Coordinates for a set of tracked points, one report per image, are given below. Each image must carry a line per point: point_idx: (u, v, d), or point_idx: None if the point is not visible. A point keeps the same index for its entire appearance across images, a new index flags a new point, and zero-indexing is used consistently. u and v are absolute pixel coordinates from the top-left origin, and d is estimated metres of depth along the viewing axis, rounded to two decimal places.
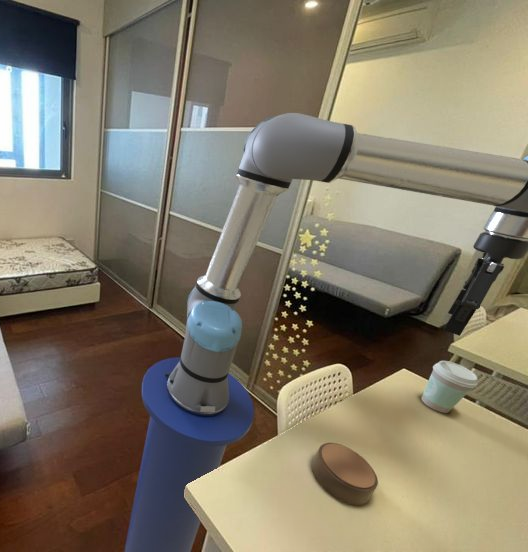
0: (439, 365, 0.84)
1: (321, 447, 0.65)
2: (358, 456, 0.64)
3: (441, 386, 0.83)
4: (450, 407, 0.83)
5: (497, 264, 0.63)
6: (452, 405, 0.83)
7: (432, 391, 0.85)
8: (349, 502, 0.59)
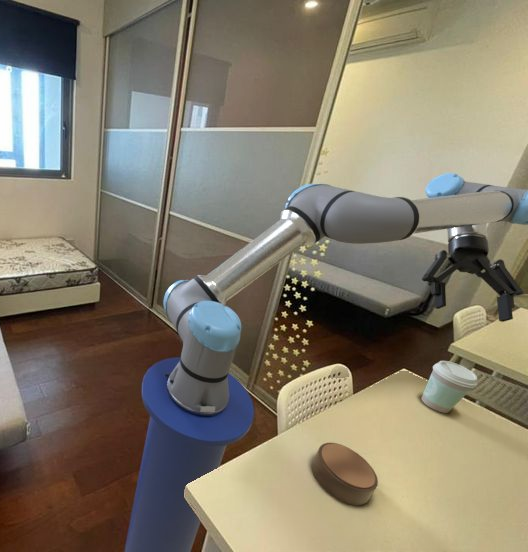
0: (439, 365, 0.84)
1: (321, 447, 0.65)
2: (358, 456, 0.64)
3: (441, 386, 0.83)
4: (450, 407, 0.83)
5: None
6: (452, 405, 0.83)
7: (432, 391, 0.85)
8: (349, 502, 0.59)
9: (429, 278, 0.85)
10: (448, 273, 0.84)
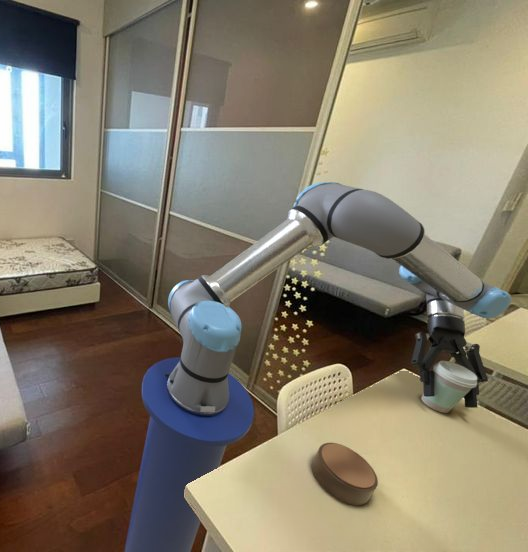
0: (439, 365, 0.84)
1: (321, 447, 0.65)
2: (358, 456, 0.64)
3: (441, 386, 0.83)
4: (450, 407, 0.83)
5: None
6: (452, 405, 0.83)
7: None
8: (349, 502, 0.59)
9: (419, 365, 0.86)
10: (433, 358, 0.86)
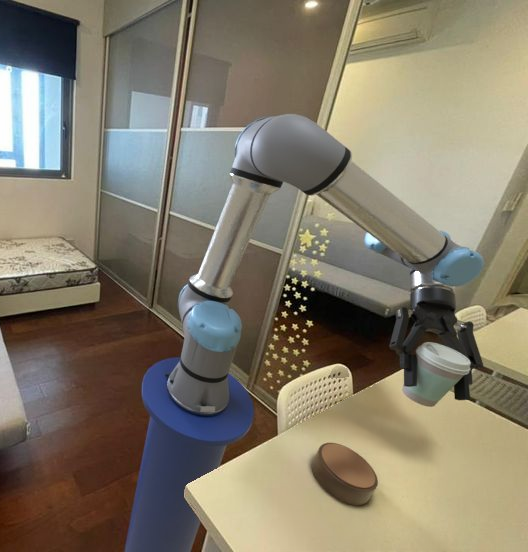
0: (423, 347, 0.67)
1: (321, 447, 0.65)
2: (358, 456, 0.64)
3: (425, 373, 0.66)
4: (436, 400, 0.67)
5: None
6: (439, 397, 0.66)
7: None
8: (349, 502, 0.59)
9: (398, 348, 0.69)
10: (416, 339, 0.69)
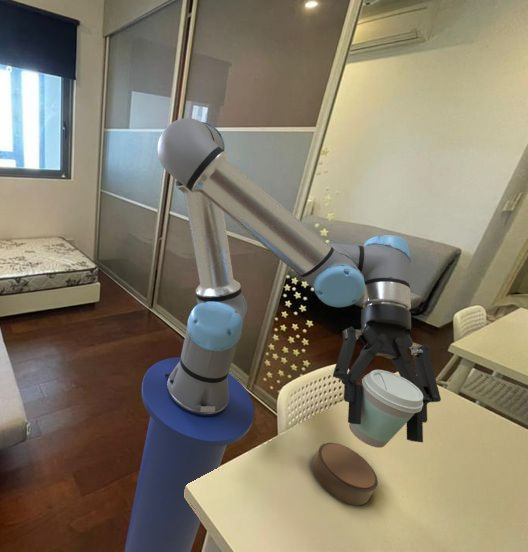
0: (370, 377, 0.56)
1: (321, 447, 0.65)
2: (358, 456, 0.64)
3: (371, 409, 0.55)
4: (385, 440, 0.56)
5: None
6: (388, 437, 0.55)
7: None
8: (349, 502, 0.59)
9: (342, 377, 0.58)
10: (363, 366, 0.58)
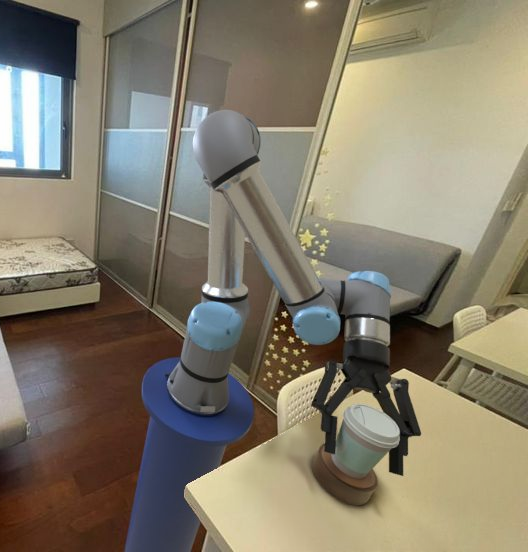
0: (349, 411, 0.58)
1: (321, 447, 0.65)
2: None
3: (350, 442, 0.57)
4: (365, 472, 0.58)
5: None
6: (367, 469, 0.58)
7: (341, 447, 0.59)
8: (349, 502, 0.59)
9: (319, 407, 0.61)
10: (341, 399, 0.61)
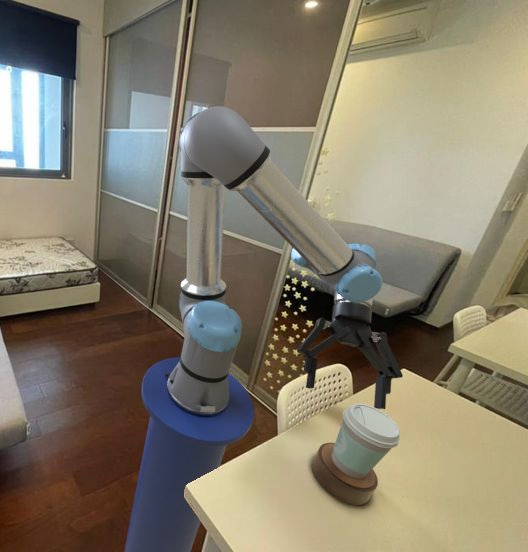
0: (349, 411, 0.58)
1: (321, 447, 0.65)
2: None
3: (350, 442, 0.57)
4: (365, 472, 0.58)
5: None
6: (367, 469, 0.58)
7: (341, 447, 0.59)
8: (349, 502, 0.59)
9: (302, 352, 0.73)
10: (323, 347, 0.72)
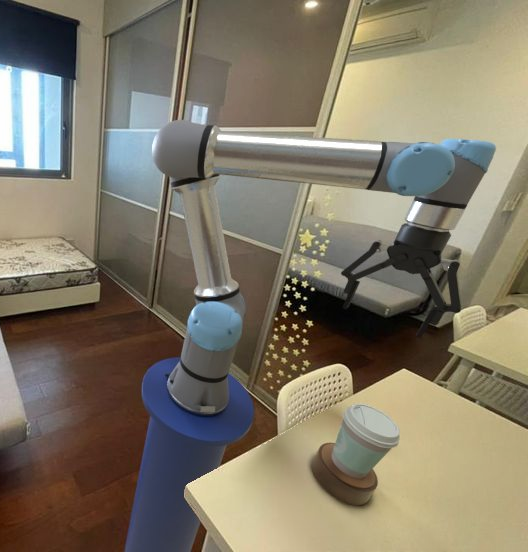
0: (349, 411, 0.58)
1: (321, 447, 0.65)
2: None
3: (350, 442, 0.57)
4: (365, 472, 0.58)
5: (459, 261, 0.60)
6: (367, 469, 0.58)
7: (341, 447, 0.59)
8: (349, 502, 0.59)
9: None
10: (367, 273, 0.69)
